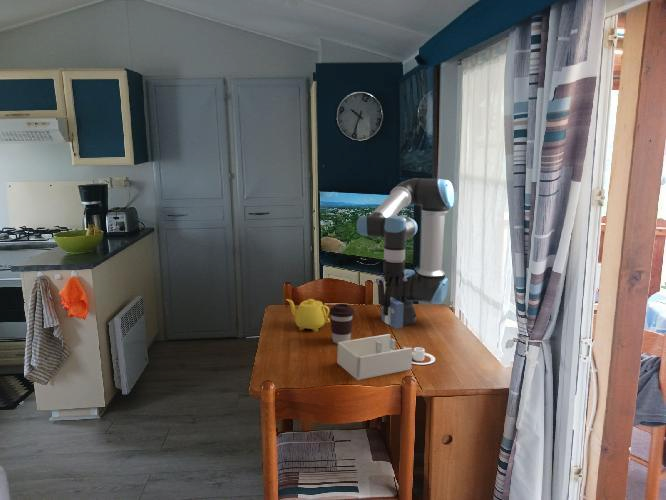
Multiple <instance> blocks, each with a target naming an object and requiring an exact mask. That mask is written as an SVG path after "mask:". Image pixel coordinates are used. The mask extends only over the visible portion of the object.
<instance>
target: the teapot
mask: <svg viewBox="0 0 666 500" xmlns="http://www.w3.org/2000/svg"><path fill="white" fill-rule="evenodd" d="M285 301H288V303H289V305H290V311H291V314H292V316H294V319H295V320H294V322H295V324H296V326H297V327H298V330H299V331H304V330H306V329H307V330H309V329H310V330H312V332H315V333H317V332H319V329H320V328H322V327H324V326H325V324H329V323H331V318H329V317H328V316H329V315H330V308H329V306H328V305H324V304H323V302H322V301H320V300H315V299H314V298H308V299H306V300H304V301H302V302H300V304H299V305H298V306H297V307H298V308H296V306H295V303H294V301H293V300H292V299H287V298H286V299H285Z"/></svg>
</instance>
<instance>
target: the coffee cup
mask: <svg viewBox="0 0 666 500" xmlns="http://www.w3.org/2000/svg"><path fill="white" fill-rule="evenodd" d="M329 310H330V311H329V315H330V330H331V338H332V343H334V344H337V343H338V342H343V341H349V340H351V336H352V335H351V334H352V330H353V319H354V318H353V315H355V309H354V308H352V307H351V305H350V304H348V303H337V304H334V305H333V307H330V308H329Z"/></svg>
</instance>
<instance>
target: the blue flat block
mask: <svg viewBox="0 0 666 500" xmlns="http://www.w3.org/2000/svg"><path fill="white" fill-rule="evenodd" d="M389 307H391V319H390V325H389V326H390V327H392V328H394V329H395V330H397V329H402V328H403V327H404V325H403V309H404V303H402V302H400V301H398V300H396V299H394V298H392V297H391V298H390V304H389ZM381 321H382V322H384V323H385V315H384V314H383V306H381Z"/></svg>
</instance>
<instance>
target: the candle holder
mask: <svg viewBox="0 0 666 500" xmlns="http://www.w3.org/2000/svg"><path fill="white" fill-rule="evenodd" d="M425 357H428V358H429V359H430V361H428V362H423V361H424V360H425ZM412 360H413V361H412V364H413V365H420V366H422V365H423V366H425V365H430V364H432V363H434V362H435V361H436V357H435V356H434V355H432V354H430V353H427V352H426V351H425V348H423V347H414V348H413V350H412ZM414 361H415V362H414Z"/></svg>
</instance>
